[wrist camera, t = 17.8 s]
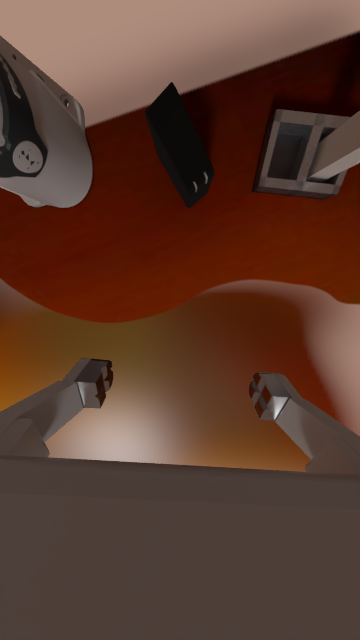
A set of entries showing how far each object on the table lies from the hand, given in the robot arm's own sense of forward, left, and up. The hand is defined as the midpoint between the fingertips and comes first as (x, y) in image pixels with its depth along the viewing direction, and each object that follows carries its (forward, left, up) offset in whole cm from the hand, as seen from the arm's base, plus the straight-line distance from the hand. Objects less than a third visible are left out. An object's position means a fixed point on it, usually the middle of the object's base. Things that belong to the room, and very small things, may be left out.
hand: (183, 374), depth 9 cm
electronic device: (-14, +13, -30) cm, 36 cm away
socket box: (-1, +28, -30) cm, 41 cm away
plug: (+2, +30, -30) cm, 42 cm away
